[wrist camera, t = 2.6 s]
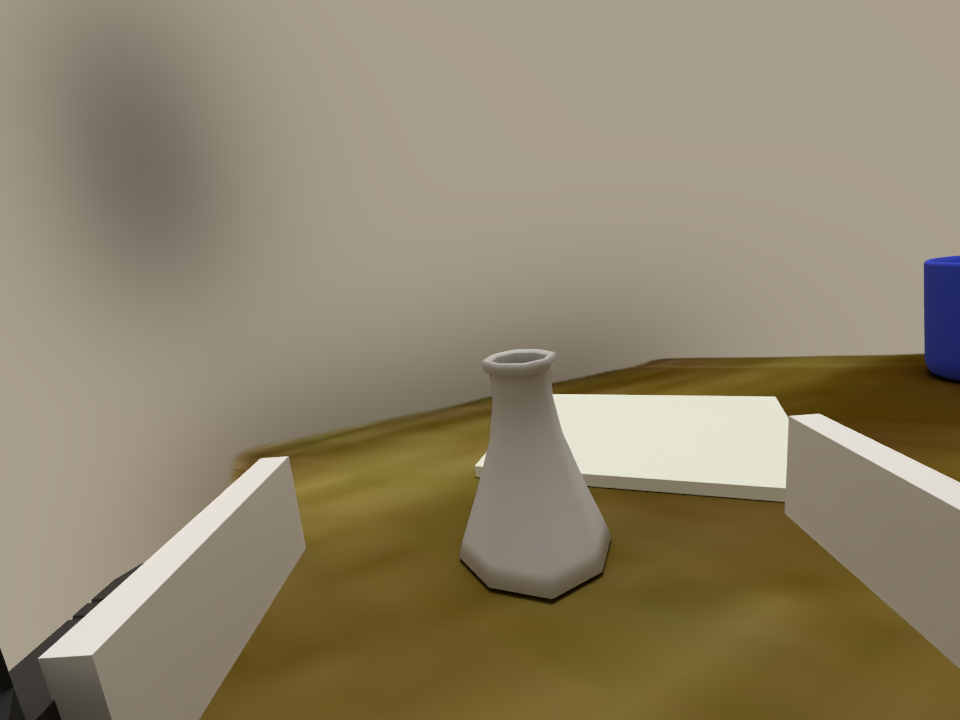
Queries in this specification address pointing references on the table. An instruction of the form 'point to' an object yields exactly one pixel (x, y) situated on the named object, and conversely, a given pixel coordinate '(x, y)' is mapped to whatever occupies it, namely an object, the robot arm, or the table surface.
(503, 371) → the flask
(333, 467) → the table surface
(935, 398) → the table surface
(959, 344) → the mug
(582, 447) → the white rectangular board
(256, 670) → the table surface
